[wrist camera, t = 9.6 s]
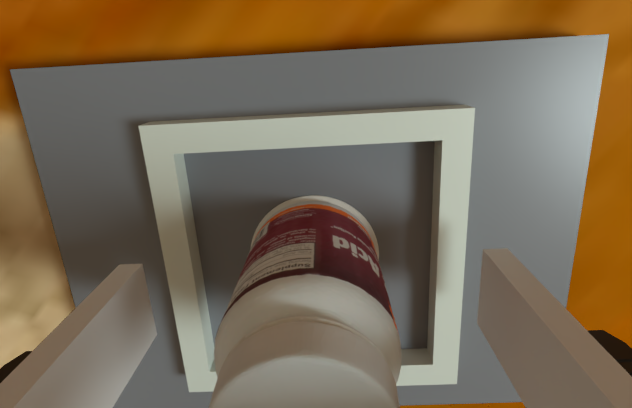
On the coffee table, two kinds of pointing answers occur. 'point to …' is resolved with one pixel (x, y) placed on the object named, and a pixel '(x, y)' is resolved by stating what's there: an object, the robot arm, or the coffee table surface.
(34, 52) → the coffee table surface
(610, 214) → the coffee table surface
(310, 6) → the coffee table surface
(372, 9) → the coffee table surface
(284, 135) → the socket plate
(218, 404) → the pill bottle
